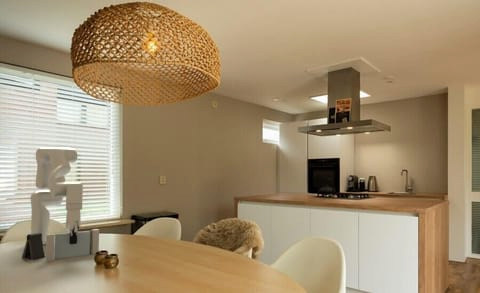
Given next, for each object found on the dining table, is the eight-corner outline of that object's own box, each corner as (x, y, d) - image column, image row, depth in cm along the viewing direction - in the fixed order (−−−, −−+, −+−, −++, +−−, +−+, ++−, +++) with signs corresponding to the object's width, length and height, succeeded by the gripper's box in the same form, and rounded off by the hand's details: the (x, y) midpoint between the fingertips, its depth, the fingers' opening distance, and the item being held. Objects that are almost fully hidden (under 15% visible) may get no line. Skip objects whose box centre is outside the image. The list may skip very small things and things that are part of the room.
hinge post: (90, 253, 174) (91, 229, 175) (96, 252, 176) (97, 228, 177) (92, 254, 172) (93, 230, 173) (98, 253, 174) (99, 229, 175)
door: (91, 253, 174) (91, 229, 174) (91, 254, 172) (92, 230, 173) (54, 258, 165) (55, 232, 166) (54, 258, 164) (55, 233, 165)
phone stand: (21, 258, 165) (23, 233, 166) (33, 255, 170) (34, 231, 171) (33, 260, 161) (34, 235, 162) (45, 257, 167) (46, 233, 167)
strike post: (45, 260, 161) (46, 234, 162) (52, 259, 163) (53, 233, 164) (46, 261, 159) (47, 235, 159) (53, 260, 160) (54, 234, 161)
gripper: (62, 206, 171) (61, 242, 169) (69, 208, 159) (68, 247, 157) (78, 205, 175) (77, 240, 174) (86, 207, 164) (85, 244, 162)
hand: (73, 243), depth 165 cm, fingers closed
